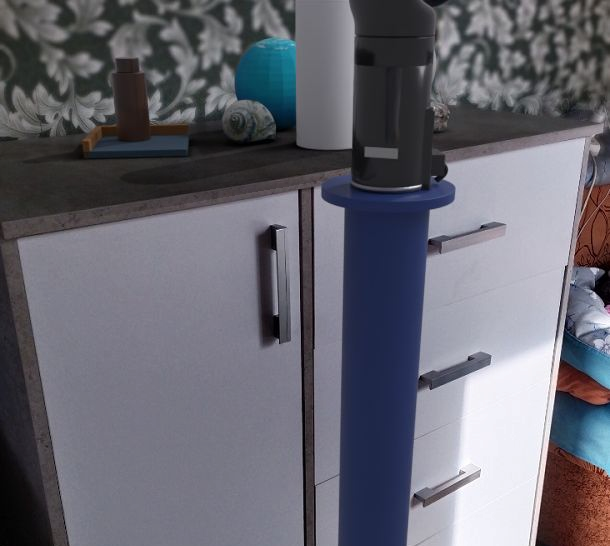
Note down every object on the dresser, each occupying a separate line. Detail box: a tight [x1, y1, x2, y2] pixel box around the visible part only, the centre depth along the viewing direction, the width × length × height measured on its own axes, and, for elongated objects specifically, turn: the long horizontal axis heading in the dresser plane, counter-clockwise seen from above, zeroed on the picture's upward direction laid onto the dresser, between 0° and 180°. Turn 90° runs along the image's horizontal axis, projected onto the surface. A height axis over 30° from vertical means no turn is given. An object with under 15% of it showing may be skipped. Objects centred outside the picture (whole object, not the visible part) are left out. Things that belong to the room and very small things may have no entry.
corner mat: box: [81, 123, 190, 159], centre depth 119 cm, size 15×15×2 cm
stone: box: [431, 101, 451, 133], centre depth 133 cm, size 13×6×10 cm
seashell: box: [221, 100, 277, 145], centre depth 123 cm, size 6×8×12 cm
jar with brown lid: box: [110, 56, 151, 142], centre depth 119 cm, size 5×5×12 cm
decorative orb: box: [233, 37, 296, 130], centre depth 134 cm, size 15×15×15 cm
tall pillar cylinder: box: [294, 0, 356, 151], centre depth 117 cm, size 11×11×25 cm
